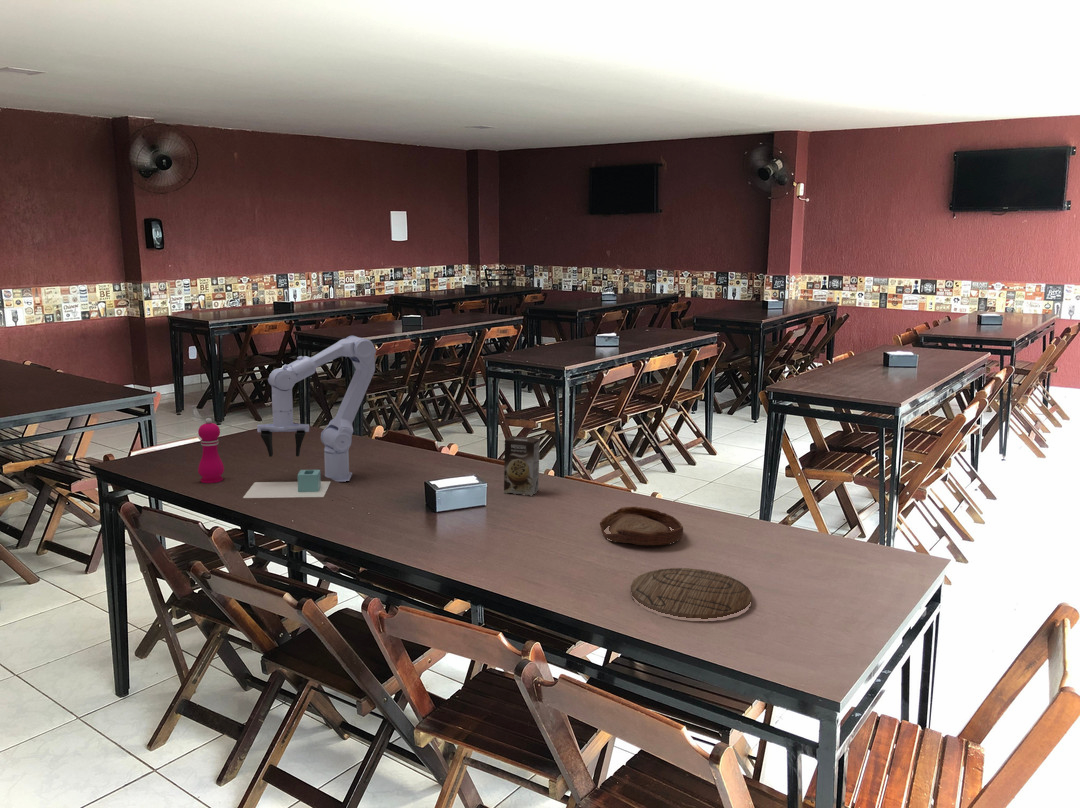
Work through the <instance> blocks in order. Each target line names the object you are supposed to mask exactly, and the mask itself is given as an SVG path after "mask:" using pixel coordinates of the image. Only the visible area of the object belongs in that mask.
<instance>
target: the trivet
mask: <svg viewBox="0 0 1080 808" xmlns="http://www.w3.org/2000/svg"><path fill="white" fill-rule="evenodd" d="M631 592H632V596H633V597H634V598H635V599H636V600H637V601H638V602H639V603H641V604H643V605H644V606H646V607H648V608H650V609H653V610H656V611H658V612H661V613H665V614H670V615H673V616H678V617H686V618H701V619H708V618H717V617H723V616H727V615H730V614H734V613H737V612H739V611H741V610H743V609H745V608H746V607H747V606H748V605H749V604H750V602H751V603H752V599H753V597H752V596H753V594H752V592H751V590H750V588H749V587H748V586H746V585H745V584H744V583H743V582H742V581H740V580H738V579H735V578H734V577H732V576H730V575H727V574H723V573H719V572H715V571H711V570H707V569H706V570H705V569H697V568H691V567H688V568H687V567H686V568H685V567H684V568H682V567H681V568H680V567H671V568H660V569H656V570H652V571H648V572H645V573H643V574H640V575H638V576H637V577H636V578H635V579H633V580H632V583H631V585H630V593H631ZM632 596H631V597H632Z"/></svg>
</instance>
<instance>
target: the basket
mask: <svg viewBox="0 0 1080 808" xmlns="http://www.w3.org/2000/svg"><path fill="white" fill-rule="evenodd" d="M599 525H600V530H601V533H602V535H603V537H604V538H605V537H606V538H608V539H610V540H612V541H616V542H615V543H617V542H623V544H624V543H625V544H634V545H636V546H667V545H666V544H668V545H671V544H670V543H673V542H676V541H677V540H678V541H679V540H680V539H681V538H682V537H683V534H684V526H683V525H682V523H681V522H680V521H679V520H678V519H677V518H675V517H674V516H672V515H670V514H667V513H666V512H661V511H659V510H657V509H652V508H648V507H642V506H623V507H620V508H618V509H617V510H616V511H613V512H611V513H609V514H608V515H607V516H605V517H603V518H602V519H601V520H600V522H599ZM608 526H610V527H609V531H610V532H611V534H606V533H605V532H604V530H605V529H606V528H607V527H608ZM669 527H671V528H672V529H674V530H672V531H671V530H670V528H669ZM606 538H605V539H606ZM678 541H677V542H678ZM677 542H676V543H677Z"/></svg>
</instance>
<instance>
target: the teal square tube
mask: <svg viewBox="0 0 1080 808" xmlns="http://www.w3.org/2000/svg"><path fill="white" fill-rule="evenodd" d="M296 477H297V482H298V492H318V491H319V489H320V487H321V481H322V480H321V479H322V477H321V469H300V470H299V471H298V474H297V476H296Z"/></svg>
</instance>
